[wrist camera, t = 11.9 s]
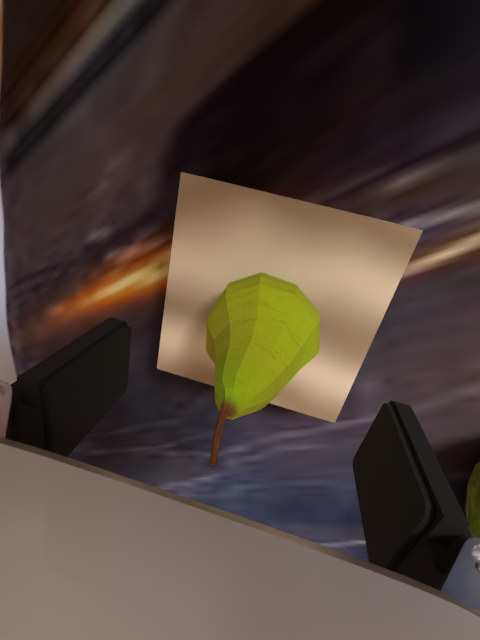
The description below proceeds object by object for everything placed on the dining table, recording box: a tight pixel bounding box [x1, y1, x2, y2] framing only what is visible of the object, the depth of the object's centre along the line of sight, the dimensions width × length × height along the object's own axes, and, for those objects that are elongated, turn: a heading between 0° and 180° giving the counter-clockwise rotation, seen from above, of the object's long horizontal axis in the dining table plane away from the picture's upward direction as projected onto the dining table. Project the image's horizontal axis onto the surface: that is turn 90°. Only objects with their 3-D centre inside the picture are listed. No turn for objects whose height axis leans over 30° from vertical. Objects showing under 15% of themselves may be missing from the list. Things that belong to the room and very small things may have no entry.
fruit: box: [206, 272, 320, 466], centre depth 14 cm, size 6×6×12 cm
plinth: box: [157, 172, 423, 423], centre depth 22 cm, size 14×14×5 cm
